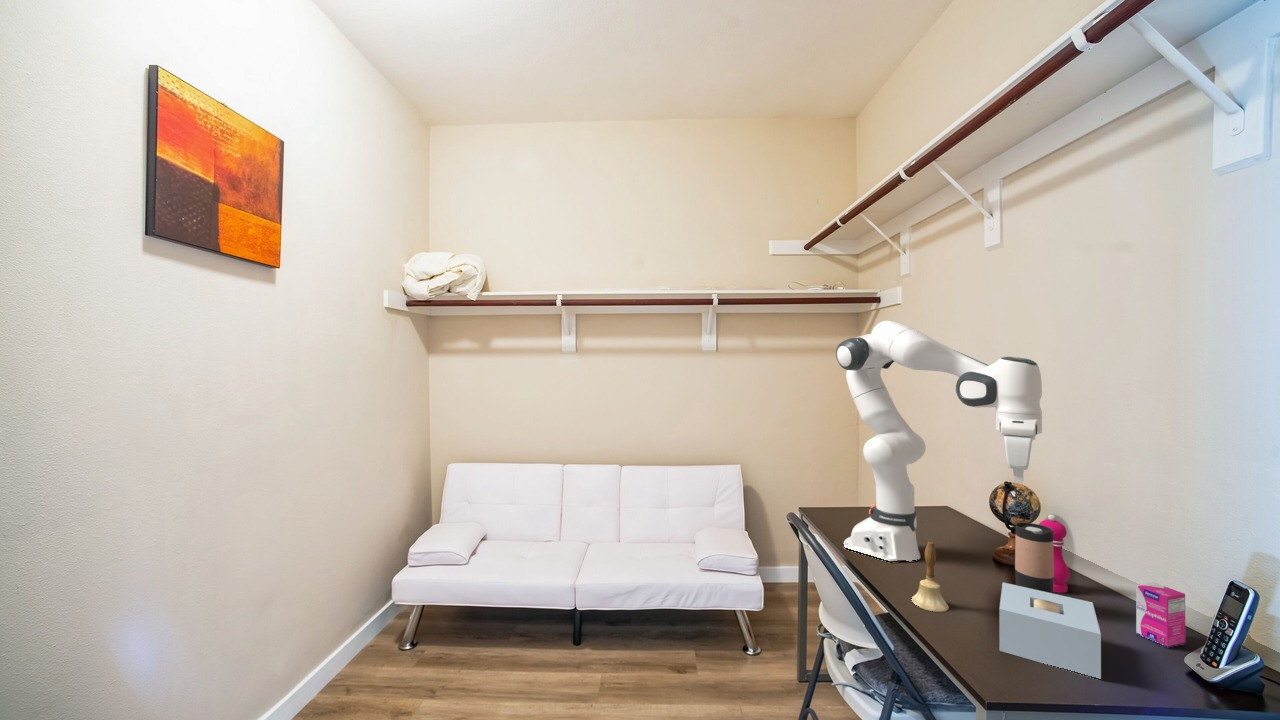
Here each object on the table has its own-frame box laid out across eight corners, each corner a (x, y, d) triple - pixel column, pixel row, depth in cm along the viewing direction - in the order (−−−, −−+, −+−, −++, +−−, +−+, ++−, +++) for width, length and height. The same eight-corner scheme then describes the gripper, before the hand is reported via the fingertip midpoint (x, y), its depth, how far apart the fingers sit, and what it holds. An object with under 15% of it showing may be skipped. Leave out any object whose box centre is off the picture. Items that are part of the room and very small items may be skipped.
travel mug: (1027, 596, 130) (1027, 520, 130) (1061, 610, 123) (1060, 530, 123) (1008, 602, 127) (1008, 524, 127) (1041, 616, 120) (1041, 534, 120)
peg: (1033, 641, 107) (1033, 605, 107) (1033, 632, 111) (1033, 597, 111) (1060, 649, 105) (1060, 611, 105) (1059, 639, 108) (1059, 603, 108)
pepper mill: (1076, 595, 131) (1076, 519, 131) (1045, 592, 133) (1045, 518, 133) (1059, 583, 138) (1059, 511, 138) (1029, 580, 140) (1029, 510, 140)
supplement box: (1134, 634, 112) (1134, 584, 112) (1153, 631, 114) (1153, 581, 114) (1167, 649, 107) (1167, 596, 107) (1186, 645, 108) (1186, 593, 108)
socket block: (999, 650, 106) (999, 608, 106) (1002, 619, 119) (1002, 582, 119) (1100, 680, 96) (1100, 634, 96) (1092, 643, 109) (1092, 602, 109)
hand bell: (946, 600, 128) (946, 539, 128) (950, 615, 121) (950, 550, 121) (910, 594, 132) (910, 534, 132) (912, 608, 125) (911, 544, 125)
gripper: (1003, 419, 129) (1004, 472, 129) (1000, 427, 113) (1000, 488, 113) (1034, 421, 125) (1034, 475, 125) (1035, 430, 109) (1035, 492, 109)
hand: (1018, 481), depth 119 cm, fingers closed
